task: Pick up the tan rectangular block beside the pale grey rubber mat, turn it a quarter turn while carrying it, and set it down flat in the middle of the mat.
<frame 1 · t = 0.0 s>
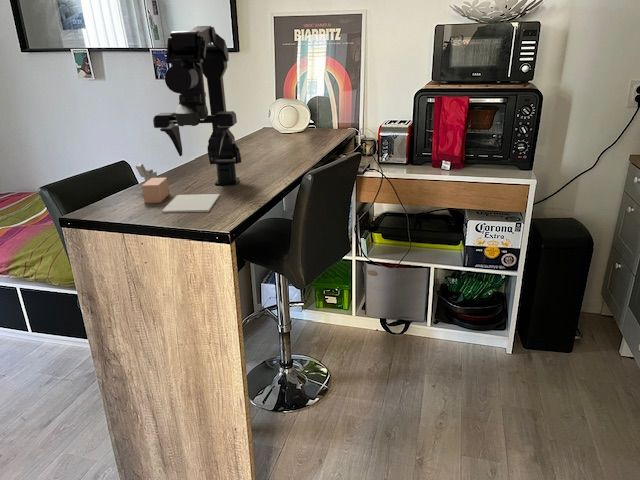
hand: (199, 155, 122), 15 cm above the table, tool pointing down, fingers open, 9 cm apart
tan rectangular block: (157, 198, 141), on the table
grey jagged block: (149, 188, 151), on the table
mat: (192, 203, 135), on the table
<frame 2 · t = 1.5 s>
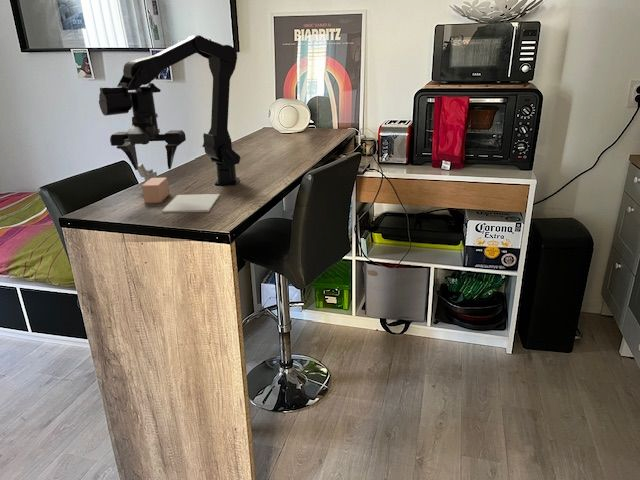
hand: (153, 169, 138), 8 cm above the table, tool pointing down, fingers open, 9 cm apart
nothing on the table moved.
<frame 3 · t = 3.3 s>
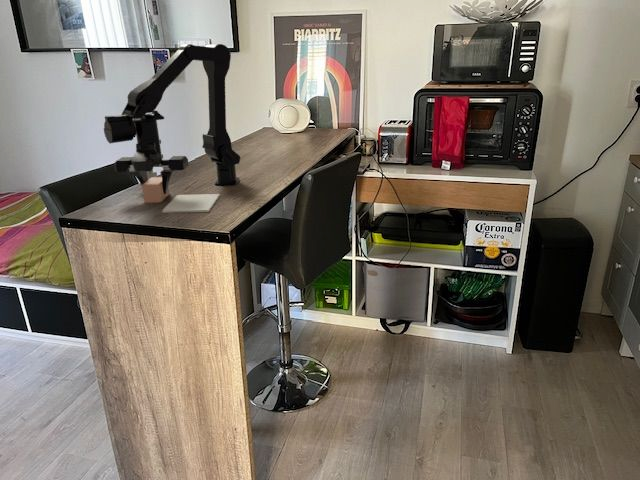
hand: (156, 193, 140), 1 cm above the table, tool pointing down, fingers closed on tan rectangular block, 4 cm apart
tan rectangular block: (157, 198, 141), on the table, touching gripper
everything else where it was.
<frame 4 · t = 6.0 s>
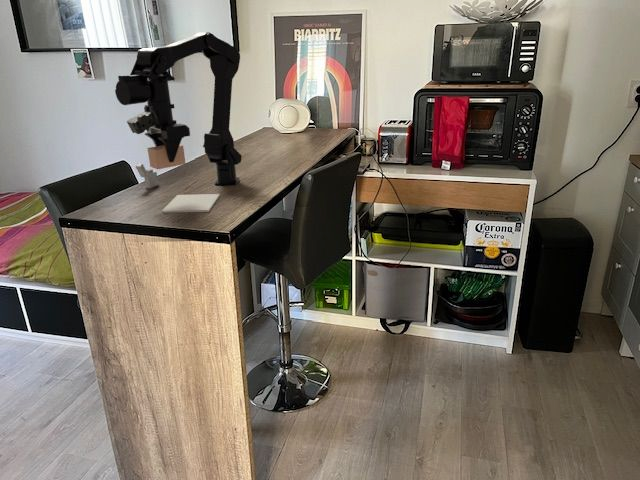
hand: (167, 160, 134), 11 cm above the table, tool pointing down, fingers closed on tan rectangular block, 4 cm apart
tan rectangular block: (168, 165, 134), point 10 cm above the table, touching gripper
everything else where it was.
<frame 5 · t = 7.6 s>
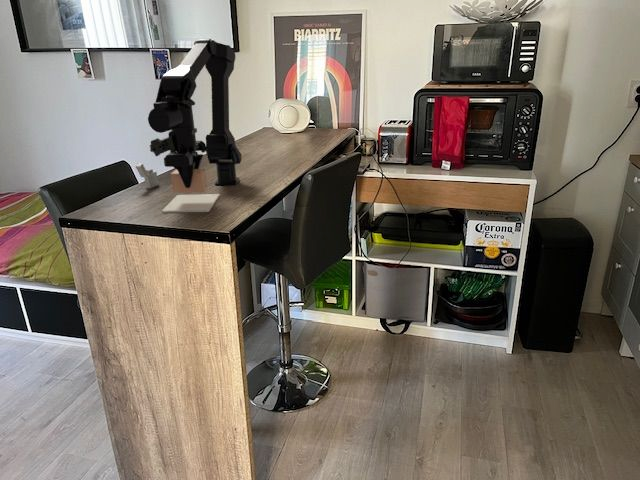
hand: (190, 185, 133), 5 cm above the table, tool pointing down, fingers closed on tan rectangular block, 4 cm apart
tan rectangular block: (190, 189, 133), point 4 cm above the table, touching gripper
everything else where it was.
when the fingers open (3 cm above the table, at t = 8.8 s): tan rectangular block drops 1 cm, resting on mat.
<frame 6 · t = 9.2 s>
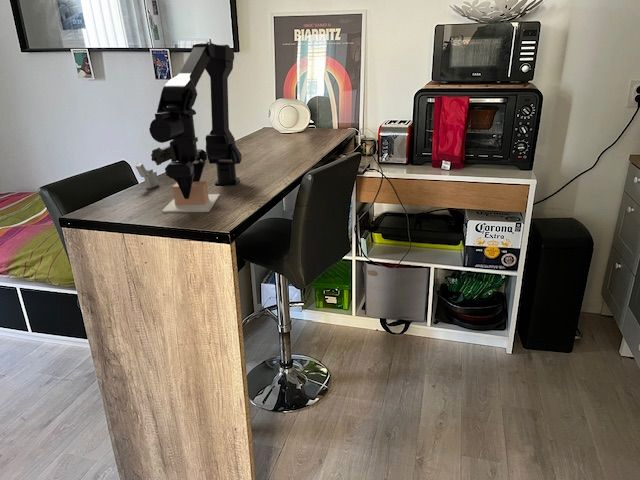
hand: (191, 193, 134), 3 cm above the table, tool pointing down, fingers open, 9 cm apart
tan rectangular block: (192, 202, 135), resting on mat
everything else where it was.
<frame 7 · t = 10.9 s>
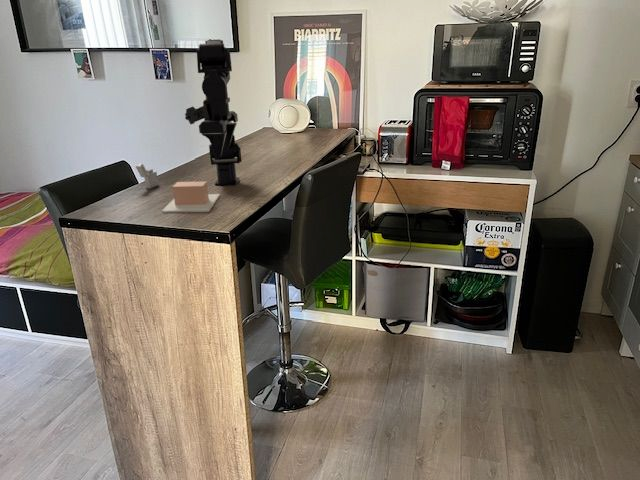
hand: (222, 153, 137), 12 cm above the table, tool pointing down, fingers open, 9 cm apart
nothing on the table moved.
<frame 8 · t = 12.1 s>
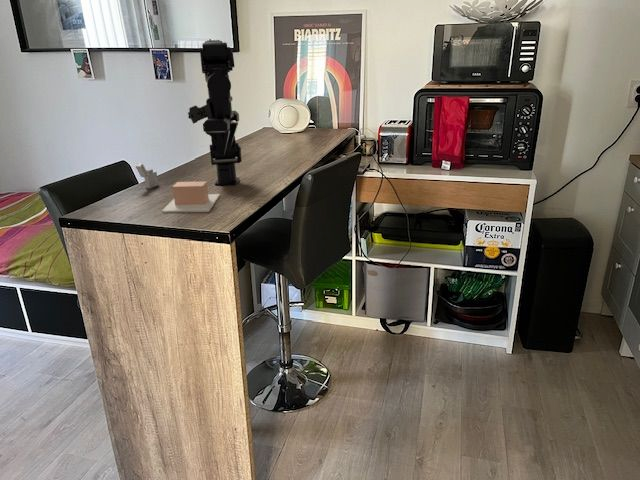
hand: (225, 152, 138), 12 cm above the table, tool pointing down, fingers open, 9 cm apart
nothing on the table moved.
at the end: tan rectangular block inside the target area (0.0 cm from its centre), point 0.5 cm above the table; tan rectangular block tilted 0°; the gripper is holding nothing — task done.
